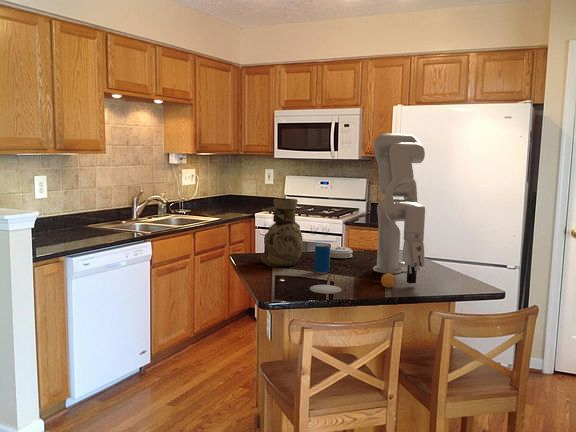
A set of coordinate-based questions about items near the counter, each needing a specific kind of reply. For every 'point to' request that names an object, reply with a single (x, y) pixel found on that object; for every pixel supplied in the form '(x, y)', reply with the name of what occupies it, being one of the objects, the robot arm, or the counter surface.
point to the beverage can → (322, 258)
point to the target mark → (325, 289)
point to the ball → (388, 280)
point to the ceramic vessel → (283, 236)
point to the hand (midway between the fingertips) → (411, 282)
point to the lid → (340, 252)
